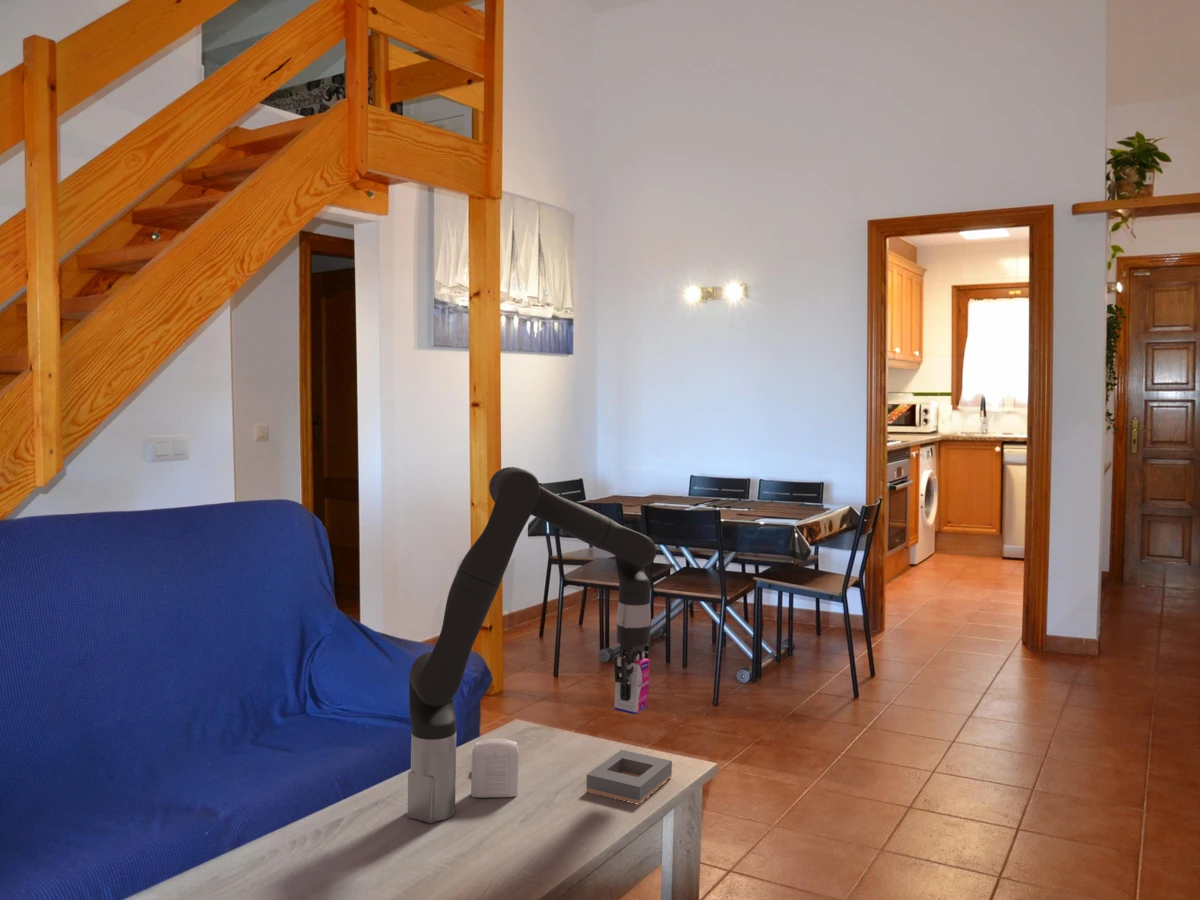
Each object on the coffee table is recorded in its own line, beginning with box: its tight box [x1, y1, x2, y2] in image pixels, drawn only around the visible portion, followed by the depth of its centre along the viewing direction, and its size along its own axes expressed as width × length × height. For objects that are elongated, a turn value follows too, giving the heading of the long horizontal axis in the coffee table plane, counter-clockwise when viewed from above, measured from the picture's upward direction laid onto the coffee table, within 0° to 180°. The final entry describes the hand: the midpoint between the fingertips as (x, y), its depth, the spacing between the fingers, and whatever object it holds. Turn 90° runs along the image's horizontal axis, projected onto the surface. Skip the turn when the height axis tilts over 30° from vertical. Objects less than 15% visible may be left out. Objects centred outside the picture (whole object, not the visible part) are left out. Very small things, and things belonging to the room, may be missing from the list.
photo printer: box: [470, 738, 520, 798], centre depth 212 cm, size 10×4×12 cm, turn 98°
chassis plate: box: [585, 749, 673, 805], centre depth 219 cm, size 17×13×4 cm
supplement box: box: [613, 658, 651, 715], centre depth 218 cm, size 6×6×12 cm
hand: (631, 695), depth 218 cm, fingers closed on supplement box, 6 cm apart
